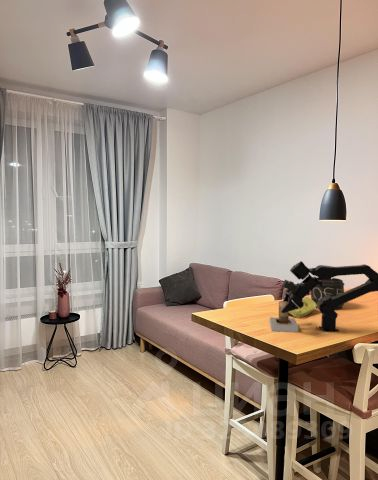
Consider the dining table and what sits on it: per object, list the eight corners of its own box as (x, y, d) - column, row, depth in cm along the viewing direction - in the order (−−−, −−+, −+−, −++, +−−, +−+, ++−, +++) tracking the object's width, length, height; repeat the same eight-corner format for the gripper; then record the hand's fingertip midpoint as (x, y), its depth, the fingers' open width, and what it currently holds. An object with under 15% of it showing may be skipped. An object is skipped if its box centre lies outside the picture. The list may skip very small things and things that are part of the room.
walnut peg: (290, 328, 166) (290, 302, 166) (281, 329, 165) (281, 303, 165) (285, 325, 171) (285, 300, 170) (276, 326, 170) (277, 301, 169)
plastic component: (299, 314, 182) (284, 303, 188) (294, 326, 185) (279, 314, 191) (320, 305, 195) (304, 295, 201) (314, 316, 198) (299, 305, 204)
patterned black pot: (323, 311, 196) (324, 283, 195) (304, 304, 213) (304, 277, 213) (351, 309, 201) (352, 281, 200) (330, 302, 218) (331, 276, 217)
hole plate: (294, 324, 173) (294, 317, 173) (298, 332, 162) (298, 324, 161) (269, 323, 175) (269, 317, 174) (271, 330, 163) (271, 323, 163)
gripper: (290, 271, 175) (266, 293, 177) (296, 277, 157) (270, 302, 159) (307, 287, 175) (283, 309, 177) (314, 296, 156) (288, 320, 158)
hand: (280, 309), depth 168 cm, fingers open, 9 cm apart
